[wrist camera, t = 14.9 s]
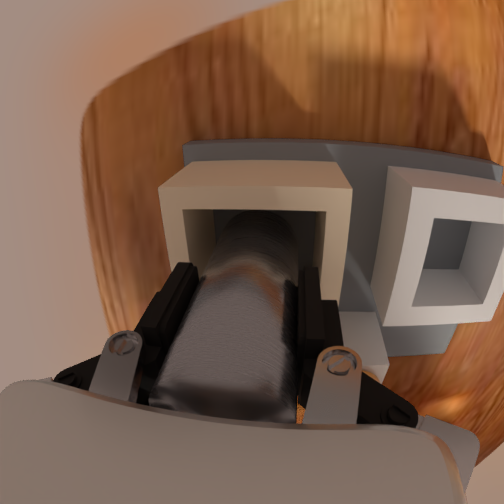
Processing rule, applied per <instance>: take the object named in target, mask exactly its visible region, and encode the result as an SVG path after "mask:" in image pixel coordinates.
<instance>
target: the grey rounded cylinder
mask: <svg viewBox="0 0 504 504" xmlns="http://www.w3.org/2000/svg"><path fill="white" fill-rule="evenodd" d="M297 302H298V241H297V237H296V234H295V232H294V230H293V228H292V227H291V225H290V224H289V223H288V222H287V221H286V220H285V219H283V218H282V217H281V216H279V215H277V214H275V213H273V212H270V211H265V210H249V211H245V212H242V213H240V214H238V215H236V216H234V217H233V218H232V219H231V220H230V221H229V222H228V223H227V224H226V226H225V227H224V229H223V231H222V233H221V235H220V237H219V240H218V242H217V244H216V246H215V248H214V250H213V252H212V254H211V257H210V259H209V261H208V263H207V265H206V267H205V270H204V272H203V274H202V276H201V278H200V280H199V283H198V285H197V287H196V289H195V291H194V294H193V296H192V298H191V300H190V303H189V305H188V307H187V309H186V311H185V314H184V316H183V318H182V321H181V323H180V325H179V327H178V330H177V332H176V334H175V336H174V339H173V341H172V343H171V346H170V348H169V350H168V353H167V355H166V357H165V360H164V362H163V364H162V367H161V369H160V371H159V374H158V376H157V378H156V381H155V383H154V386H153V388H152V390H151V393H150V396H149V406H151V407H156V408H161V409H167V410H172V411H178V412H184V413H190V414H196V415H203V416H210V417H218V418H226V419H236V420H246V421H257V422H272V423H292V424H296V415H297V387H298V364H297Z"/></svg>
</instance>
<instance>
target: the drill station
mask: <svg viewBox="0 0 504 504" xmlns="http://www.w3.org/2000/svg"><path fill="white" fill-rule="evenodd" d="M182 146H183V157H184V168H183V169H182V170H180V171H179V172H178V173H176V174H175V175H174V176H172V177H171V178H170V179H168V180H167V181H166V182H165V183H163V184H162V185H161V186H159V187H158V193H159V200H160V207H161V214H162V220H163V227H164V233H165V239H166V245H167V250H168V256H169V262H170V267H171V272H172V271H173V269H174V268H175V266H176V264H177V263H178V262H192V264H193V266H197V269H198V275H199V280H200V278H201V276H202V274H203V272H204V270H205V267H206V265H207V263H208V261H209V259H210V257H211V254H212V252H213V250H214V248H215V246H216V244H217V242H218V240H219V237H220V235H221V233H222V231H223V229H224V227H225V226H226V224H227V223H228V222H229V221H230V220H231V219H232V218H233V217H234V216H236V215H238V214H240V213H242V212H245V211H249V210H265V211H270V212H273V213H275V214H277V215H279V216H281V217H282V218H283V219H285V220H286V221H287V222H288V223H289V224H290V225H291V227H292V228H293V230H294V232H295V234H296V237H297V241H298V270H304V266H308V267H318V271H319V280H320V290H321V300H337V303H338V309H339V316H340V322H341V329H342V336H343V343H344V347H348V348H350V349H352V350H354V351H355V352H356V353H357V354H358V355H359V356H360V358H361V360H362V370H364V371H368V372H370V373H372V374H374V375H375V376H376V377H377V378H378V379H379V381H380V384H382V382H383V380H384V377H385V375H386V372H387V370H388V367H389V365H390V364H389V360H388V357H394V356H412V355H426V354H438V353H444V352H445V350H446V348H447V346H448V344H449V342H450V340H451V338H452V336H453V333H454V331H455V329H456V327H457V324H458V323H470V322H483V321H491V319H492V317H493V315H494V312H495V310H496V308H497V306H498V303H499V301H500V299H501V296H502V294H503V291H504V185H503V184H501V179H502V173H503V166H501V165H499V164H497V163H495V162H493V161H489V160H485V159H480V158H475V157H470V156H464V155H459V154H453V153H447V152H441V151H435V150H428V149H421V148H413V147H405V146H397V145H388V144H378V143H366V142H354V141H339V140H320V139H284V138H253V139H218V140H198V141H189V142H187V143H186V144H184V145H182Z"/></svg>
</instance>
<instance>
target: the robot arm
mask: <svg viewBox="0 0 504 504" xmlns="http://www.w3.org/2000/svg"><path fill="white" fill-rule="evenodd" d="M198 283H199V275H198V269H197V266H193V264H192V262H178V263H177V264H176V266H175V268H174V269H173V271H172V273H171V274H170V276H169V278H168V279H167V281H166V283H165V284H164V286H163V288H162V289H161V291H160V292H157V293H156V294H155V296H154V297H153V299H152V301H151V302H150V304H149V306H148V307H147V309H146V311H145V312H144V314H143V316H142V318H141V319H140V321H139V323H138V324H137V326H136V328H135V330H134V331H129V330H126V331H120V332H117V333H115V334H113V335H112V336H111V337H110V338H109V339H108V340H107V342H106V343H105V346H104V348H103V351H102V354H100V355H98V356H96V357H93V358H91V359H88V360H86V361H84V362H81V363H79V364H77V365H74V366H72V367H69V368H67V369H65V370H63V371H61V372H60V373H59V374H57V375H56V377H55V378H54V380H53V379H52V377H50V378H46V379H41V380H23V381H18V382H14V383H12V384H10V385H9V386H8V387H6V388H5V389H4V390H3V391H2V392H1V393H0V504H467V498H466V492H465V490H466V488H467V485H468V483H469V480H470V477H471V474H472V471H473V468H474V466H475V462H476V459H477V456H478V452H479V446H480V444H479V441H478V438H477V437H476V436H475V434H473V433H472V432H470V431H468V430H465V429H462V428H460V427H457V426H454V425H452V424H449V423H447V422H444V421H441V420H439V419H436V418H434V417H431V416H429V415H426V416H425V417H423V416H420V415H418V413H417V411H416V409H415V407H414V406H413V405H412V404H410V403H409V402H408V401H406V400H405V399H403V398H402V397H400V396H398V395H397V394H395V393H394V392H392V391H391V390H389V389H388V388H386V387H385V386H383V385H382V384H380V383H379V382H377V381H376V380H374V379H373V378H371V377H370V376H368V375H367V374H365V373H364V372H362V360H361V358H360V356H359V355H358V354H357V353H356V352H355V351H354V350H352V349H350V348H348V347H344V343H343V336H342V329H341V322H340V316H339V309H338V303H337V300H321V290H320V280H319V271H318V267H308V266H304V270H298V302H297V364H298V387H297V396H298V404H300V405H301V406H302V407H303V408H305V409H306V410H305V414H304V418H303V422H302V424H292V423H272V422H257V421H246V420H236V419H226V418H218V417H210V416H203V415H196V414H190V413H184V412H178V411H172V410H167V409H161V408H156V407H151V406H149V396H150V393H151V390H152V388H153V386H154V383H155V381H156V378H157V376H158V374H159V371H160V369H161V367H162V364H163V362H164V360H165V357H166V355H167V353H168V350H169V348H170V346H171V343H172V341H173V339H174V336H175V334H176V332H177V330H178V327H179V325H180V323H181V321H182V318H183V316H184V314H185V311H186V309H187V307H188V305H189V303H190V300H191V298H192V296H193V294H194V291H195V289H196V287H197V285H198Z"/></svg>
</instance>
